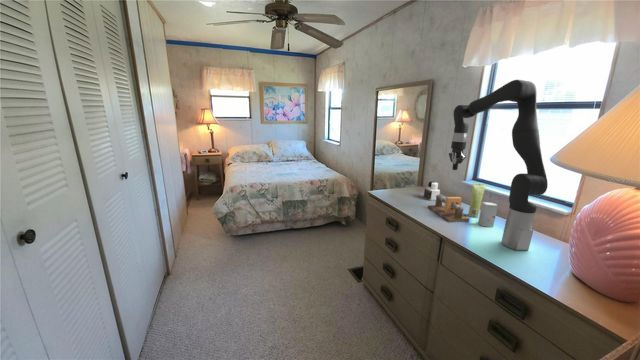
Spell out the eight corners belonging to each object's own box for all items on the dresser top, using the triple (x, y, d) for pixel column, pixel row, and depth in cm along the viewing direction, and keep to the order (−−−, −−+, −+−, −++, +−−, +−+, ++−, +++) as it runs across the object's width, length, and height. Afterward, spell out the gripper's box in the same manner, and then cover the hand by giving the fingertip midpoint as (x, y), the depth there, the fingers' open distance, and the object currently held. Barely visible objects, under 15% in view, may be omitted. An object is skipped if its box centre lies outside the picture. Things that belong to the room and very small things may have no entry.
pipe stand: (469, 221, 142) (471, 206, 140) (448, 221, 141) (451, 207, 138) (445, 207, 163) (447, 194, 161) (427, 207, 162) (429, 194, 160)
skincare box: (481, 226, 136) (485, 204, 133) (477, 222, 140) (481, 201, 137) (493, 227, 136) (498, 205, 133) (489, 223, 140) (493, 202, 137)
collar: (459, 212, 147) (462, 198, 145) (446, 212, 146) (448, 198, 144) (457, 210, 149) (459, 196, 147) (444, 211, 148) (446, 197, 146)
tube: (470, 213, 154) (476, 182, 149) (479, 216, 150) (486, 184, 145) (466, 215, 150) (472, 183, 145) (476, 218, 146) (482, 185, 142)
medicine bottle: (423, 197, 182) (425, 181, 179) (431, 196, 184) (434, 180, 181) (430, 200, 175) (432, 183, 172) (438, 199, 177) (441, 183, 174)
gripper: (473, 142, 144) (467, 172, 148) (457, 139, 157) (453, 167, 161) (460, 141, 143) (455, 172, 147) (446, 139, 156) (442, 167, 160)
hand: (454, 169), depth 154 cm, fingers closed
